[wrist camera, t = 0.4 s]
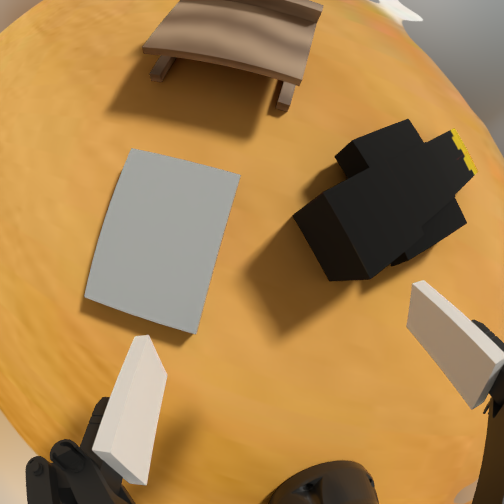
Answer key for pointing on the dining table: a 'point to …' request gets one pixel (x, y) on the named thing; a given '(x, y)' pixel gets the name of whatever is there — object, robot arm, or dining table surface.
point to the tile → (162, 239)
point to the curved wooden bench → (239, 38)
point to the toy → (387, 201)
